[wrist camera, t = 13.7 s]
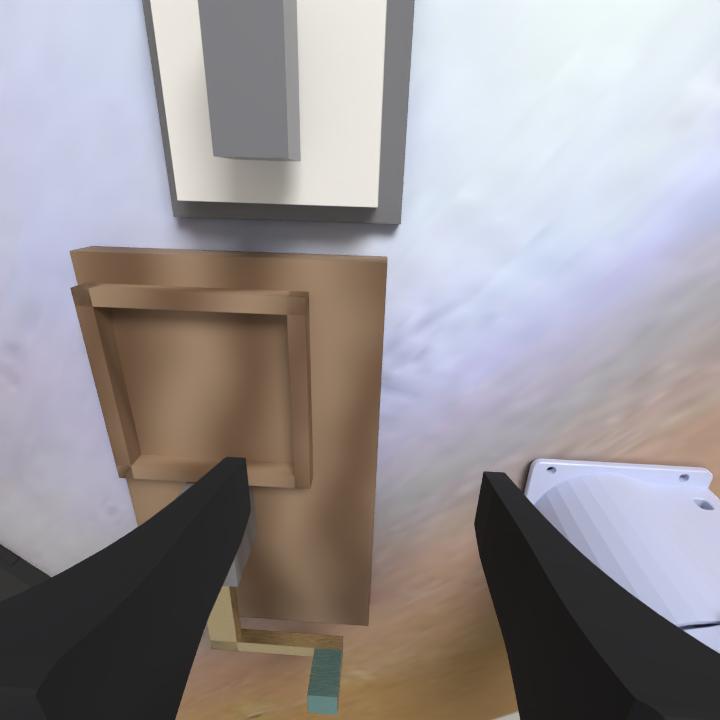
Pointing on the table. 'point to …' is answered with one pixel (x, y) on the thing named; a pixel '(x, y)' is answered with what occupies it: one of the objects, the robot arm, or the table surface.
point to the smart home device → (17, 574)
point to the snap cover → (273, 99)
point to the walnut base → (249, 404)
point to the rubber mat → (390, 152)
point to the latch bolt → (281, 649)
